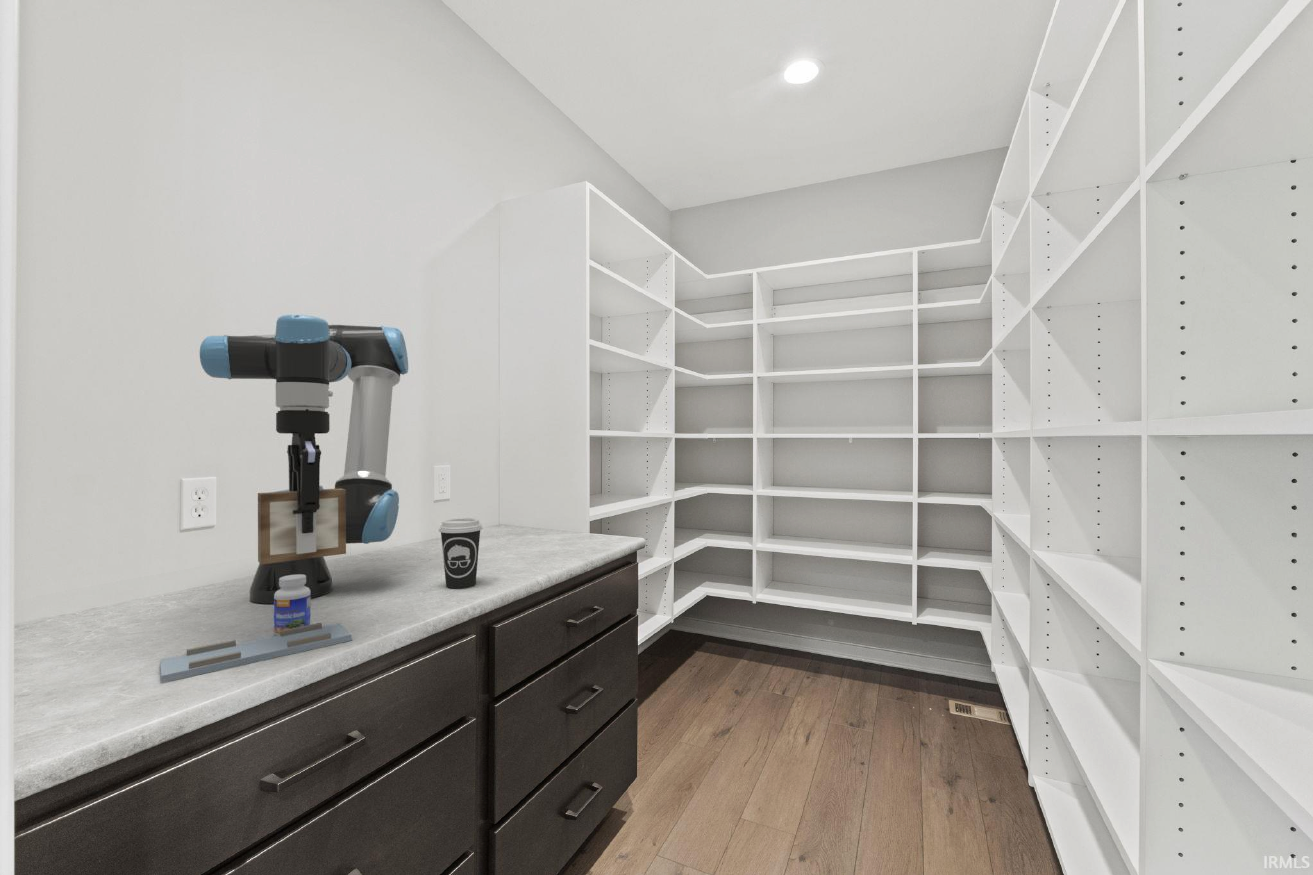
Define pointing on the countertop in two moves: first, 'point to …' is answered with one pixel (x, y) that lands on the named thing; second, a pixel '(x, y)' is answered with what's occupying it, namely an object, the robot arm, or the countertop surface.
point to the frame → (281, 526)
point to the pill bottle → (291, 603)
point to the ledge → (251, 650)
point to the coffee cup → (460, 551)
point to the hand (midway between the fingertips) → (303, 550)
